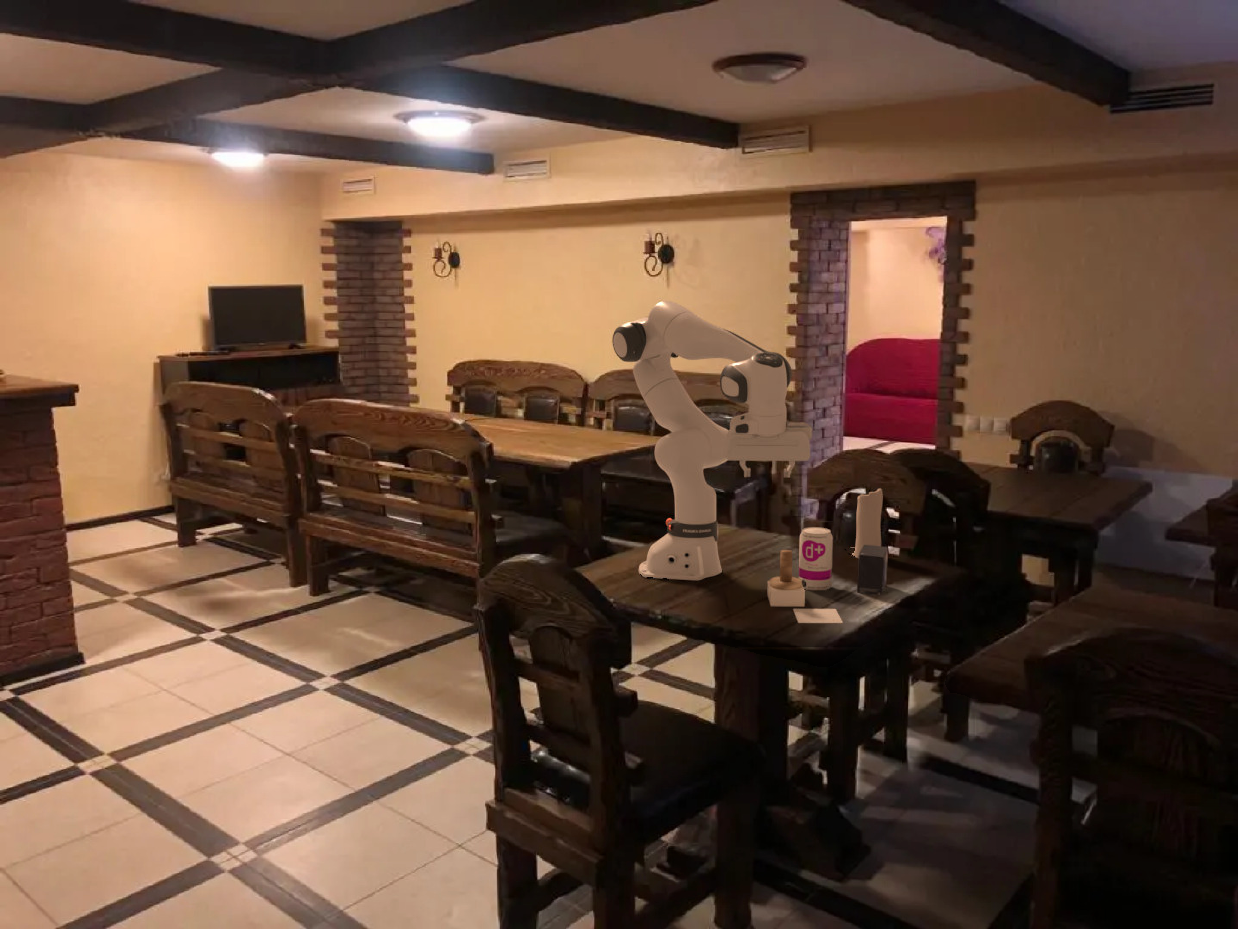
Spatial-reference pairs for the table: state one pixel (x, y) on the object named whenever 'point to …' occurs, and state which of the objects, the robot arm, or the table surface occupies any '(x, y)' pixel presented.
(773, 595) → the dish
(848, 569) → the table surface
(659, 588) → the table surface
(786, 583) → the wooden peg stand
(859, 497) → the beige wavy upright slab
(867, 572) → the small box
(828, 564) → the supplement can
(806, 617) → the mat
